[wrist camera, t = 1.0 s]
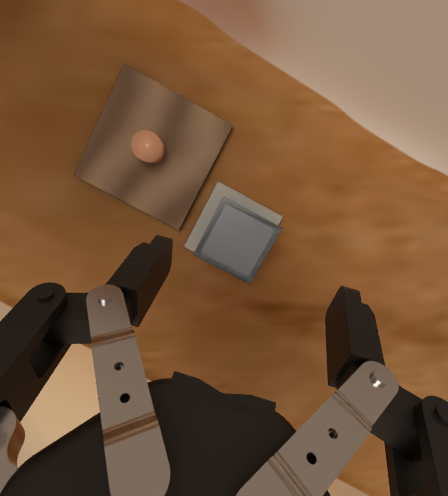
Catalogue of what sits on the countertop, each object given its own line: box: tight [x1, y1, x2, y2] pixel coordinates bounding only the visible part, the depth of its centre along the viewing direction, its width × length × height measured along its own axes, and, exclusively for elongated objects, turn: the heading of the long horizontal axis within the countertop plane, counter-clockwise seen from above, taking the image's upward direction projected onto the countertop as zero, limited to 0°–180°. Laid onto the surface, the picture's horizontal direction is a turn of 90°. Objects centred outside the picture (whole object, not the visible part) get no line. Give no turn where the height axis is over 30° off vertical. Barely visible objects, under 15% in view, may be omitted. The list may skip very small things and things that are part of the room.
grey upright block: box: [193, 196, 282, 284], centre depth 33 cm, size 6×6×9 cm
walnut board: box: [74, 64, 233, 230], centre depth 36 cm, size 14×14×1 cm
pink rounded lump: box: [131, 130, 166, 164], centre depth 34 cm, size 3×3×3 cm
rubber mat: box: [184, 182, 282, 252], centre depth 38 cm, size 9×9×1 cm
